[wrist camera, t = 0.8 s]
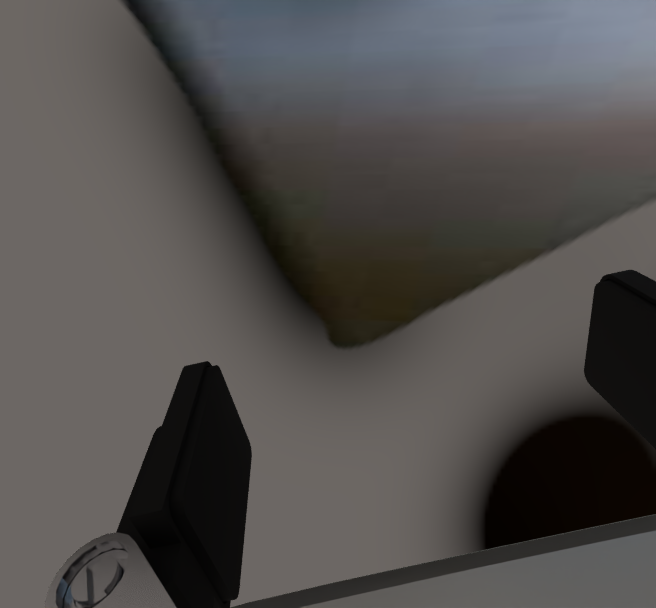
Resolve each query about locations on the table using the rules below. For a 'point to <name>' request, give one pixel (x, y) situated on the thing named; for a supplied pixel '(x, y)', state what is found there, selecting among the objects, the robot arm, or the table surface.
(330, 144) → the table surface
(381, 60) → the table surface
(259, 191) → the table surface
